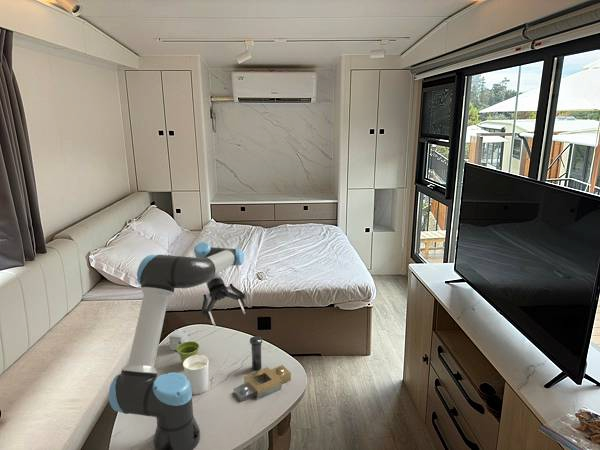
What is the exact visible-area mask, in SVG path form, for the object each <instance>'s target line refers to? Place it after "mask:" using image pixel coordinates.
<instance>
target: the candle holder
mask: <svg viewBox="0 0 600 450" xmlns="http://www.w3.org/2000/svg"><path fill="white" fill-rule="evenodd" d="M182 366H183V373H184V376H185V377H187V379H188V380H189V382H190V385H191V390H192V395H195V396H196V395H200V394H201V395H202V394H203V393H205V392H206V391H208V389H209V358H208V357H207V356H205V355H202V354H198V355H194V356H191V357H189V358H187V359H186V360H185V361H184V362H183V365H182Z"/></svg>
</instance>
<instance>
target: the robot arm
mask: <svg viewBox="0 0 600 450" xmlns="http://www.w3.org/2000/svg"><path fill="white" fill-rule="evenodd" d="M193 248H194V249H193V253H194V257H193V256H180V255H179V256H178V255H170V254H169V255H166V254H149V255H147V256H146V257H144V258H143V259H142V260H141V262H140V263H139V264H138V268H137V272H136V277H137V278H136V280H137V283H138V285H139V286H140V291H141V292H142V294H143V296H142V299H141V305H140V310H139V314H138V319H137V324H136V327H135V331H134V336H133V341H132V345H131V349H130V354H129V358H128V361H127V365H125V366H124V367H123V368H122V369H121V372H120V374H116V375H115V376H114V378H113V380H112V381H111V383H110V386H109V392H108V401H109V405H110V407H111V408H112V409H113V411H115V412H118V413H122V414H125V415H128V414H130V415H137V416H139V415H140V416H146V417H152V418H153V417H154V418H156V423H157V426H156V428H155V431H154V432H155V433H154V435H153V446H154V450H194V449H195V448H196V447H197V446H198V444H199V443H200V440H201V430H200V429H201V428H200V426H199V424H198V422H197V420H196V419H195V417H194V407H193V394H192V390H191V385H190V382H189V380H188V379H187V377H185V374H182V373H179V372H167V374H166V373H162V374H161V375H159V376H158V371H157V369H156V367H155V364H156V361H157V360H156V359H157V354H158V350H159V344H160V339H161V336H162V335H161V334H162V330H163V326H164V320H165V316H166V312H167V307H168V301H169V298H170V297H172V296H173V295H174V294H175V293H174V292H175V289H190V288H193V287H197V286H200V285H203V284H206V286H207V289H208V292H209V294H203V295H202V296H203V301H202V306H201V309H200V313H201V315H202V317H205V316H206V318H207V320H208V322H211V323H212V325H213V326H212V327H214V328H215V327H216V323H215V320H214V318H213V315H212V311H213V308H214V306H215V305H216V302H217V301H220V300H223V299H225V298H230V299H233V300H236V301H237V302H238V303H239V305H240V308H241V311H242V313H243V315H245V314H246V311H245V308H244V307H245V305H246V304H245V301H244V300H245V299H246V297H247V296H246V294H245V293H244V292H242V291H241V290H239V289H238V288H236V286H234V285H233V283H230V284H229V285H228V286H226V284H225V282H224V280H223V278H222V275H221V273H220V272H222V271H224V270H226V269H228V268H229V267H232V266H235V267H237V266H242V265H243V263H244V260H245V255H244V254H245V253H244V250H243V249H240V248H228V247H226V248H225V247H213V246H212V247H211V245H210V244H209V243H208V242H206V241H205V242H204V241H200V242H199V243H197V244H196V245H195V246H194V247H193ZM229 290H230V291H232V292H230V291H229ZM209 300H210V301H209ZM208 302H209V303H208Z"/></svg>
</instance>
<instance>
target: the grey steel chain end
mask: <svg viewBox="0 0 600 450" xmlns="http://www.w3.org/2000/svg"><path fill="white" fill-rule="evenodd" d="M256 381H257V382H258V383H259V384H260V383H262V382H264V381H265V382H267V381H269V380H268V379H267V378H266V377H263V378H260V379H258V380H256ZM281 389H282V385H279V386H277V387H275V388H273V389H270V390H268V391H266V392H263V393H261V394H259V395H257V394H256V393H255V392H254V391H253V389H252V388H251V387H250V386H249V385H248V384H247V383H246V382H245V381H244V380H243V384H241V385H239V386H237V387H234V388H233V392H232V393H233V394H234V395H235V396H236V398H237V399H238V400H239V401H240V402H241V403H242V402H243V401H246V400H248V399H250V398H254V397H255V398H256V399H257V400H258V399H261V398H263V397H265V396H267V395H270V394H273V393H274V392H277V391H278V390H281Z"/></svg>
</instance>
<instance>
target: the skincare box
mask: <svg viewBox="0 0 600 450" xmlns="http://www.w3.org/2000/svg"><path fill="white" fill-rule="evenodd" d="M184 342H189V340H188V331H187V330H183V329H182V330H181V329H175V330H174V331H172V333H171V334H169V348H170V350H171V351H177V347H178V346H179V345H180V344H182V343H184Z"/></svg>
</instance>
